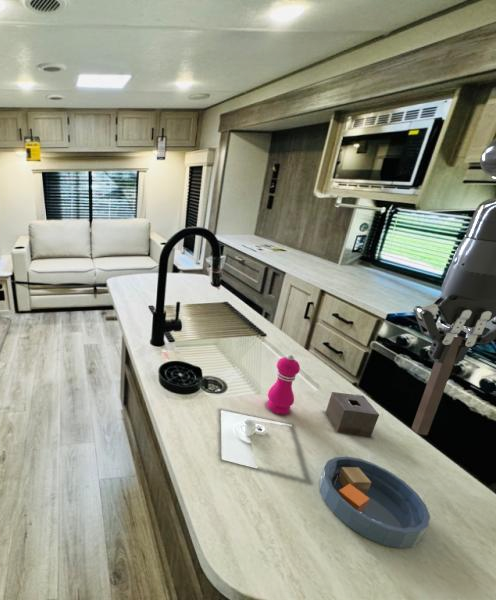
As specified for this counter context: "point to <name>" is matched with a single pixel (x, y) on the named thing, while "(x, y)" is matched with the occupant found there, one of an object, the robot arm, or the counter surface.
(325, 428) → the counter surface
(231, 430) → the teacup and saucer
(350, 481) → the block
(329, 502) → the bowl
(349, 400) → the stick stand
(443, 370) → the stir stick
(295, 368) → the pepper mill
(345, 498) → the block
